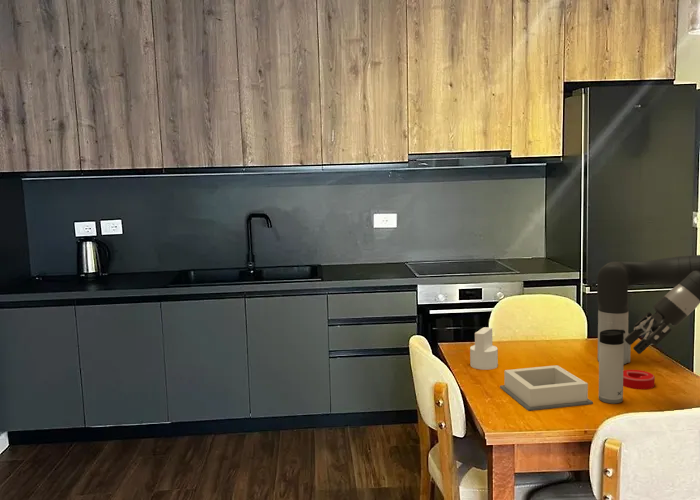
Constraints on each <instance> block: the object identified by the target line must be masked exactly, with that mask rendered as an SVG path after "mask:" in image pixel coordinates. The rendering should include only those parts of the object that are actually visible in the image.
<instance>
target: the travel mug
mask: <svg viewBox="0 0 700 500" xmlns="http://www.w3.org/2000/svg"><path fill="white" fill-rule="evenodd" d="M624 333H625V331H624V330H617V329H610V330H604V331H601V332H600V341H599V343H600V344H599V361H598V399H599V401H601V402H603V403H606V404H613V405H614V404H620V403H622V402H623V399H624V386H623V371H624V364H623V361H624V340H623V339H624Z"/></svg>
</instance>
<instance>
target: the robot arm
mask: <svg viewBox="0 0 700 500" xmlns="http://www.w3.org/2000/svg"><path fill="white" fill-rule="evenodd" d="M597 273H598V274H597V277H596V281H597V282H596V286H597V287H596V291H597V293H596V296H597V297H596V299H597V301H596V302H597V306H598V308H597V309H598V311H597V323H598V324H597V361H598V362H599V344H600V343H599V341H600V332H601V331H604V330H610V329H617V330H624V331H625V333H624V339H623V340H624V361H623V365H626V364H627V363H631V351H632V350H631V345H633V344H634V343H635V342H636V341H637V340H639V338H640V337H641V336H643V335H645V336H644V337H643V338H642V339H640V341H639V342H637V344H635V345H634V346H633V350H634V351H635V352H636V353H637V354H638V355H640V354H642V353H643V352H644V351H645V350H646V349H647V348H648V347H649V346H652V345H654V346H657V345H658V344H659V343H660V342H661V341H662V340H664V338H665V337H667V336H668V334H669V333H670V332H672V328H671V327H670V326H669V325H671V326H672V327H677V326H678V325H679V324H680V323H682V321H684V320H685V319H686V318H687V317H688V316H689V315H690V314H691V313H692V312H694V310H696V308H698V306H699V305H700V254H698V255H697V254H695V255H694V254H693V255H682V256H674V257H673V256H672V257H664V258H657V259H651V260H647V261H618V260H617V261H610V262H607V263H606V264H604V265H603V266H602V267H601V268H600V269H599V270H598V272H597ZM645 284H649V285H650V284H651V285H652V284H653V285H660V286H662V285H663V286H672V287H673V288H671V289H670V290H669V291H668V292H667V293H666V294H665V295H663V296H662V298H660V300H658V301H657V303H655V304H654V305H653V306H652V308H653V310H654V311H655V313H652V312H651V311H648V312H647V313H645V315H643V316H642V318H640V319H639V320H638V321H637V322H635V324H634V325H633V331H631V332H630V333H629V311H630V310H629V306H630V305H629V298H628V296H629V295H628V292H629V289H628V287H629V286H630V287H631V286H636V285H645Z"/></svg>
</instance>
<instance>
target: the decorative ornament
mask: <svg viewBox="0 0 700 500" xmlns="http://www.w3.org/2000/svg"><path fill="white" fill-rule="evenodd" d="M623 387H625V388H629V389H633V390H649V389H653V388H654V387H655V376H654V374H653V373H651V372H648V371H645V370H640V369H623Z"/></svg>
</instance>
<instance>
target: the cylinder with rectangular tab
mask: <svg viewBox="0 0 700 500" xmlns="http://www.w3.org/2000/svg"><path fill="white" fill-rule="evenodd" d="M498 354H499V353H498V347H497V346H496V345H493V327H488V326H487V327H486V326H485V327H482V328H480V329H479V330H478V331H475V332H474V344H473V345H471V346H470V349H469V355H470V356H469V361H470V363H469V364H470V367H471V368H473V369H476V370H483V371H484V370H487V371H488V370H494V369H497V368H498V366H499V363H498V362H499V361H498V357H499V356H498Z"/></svg>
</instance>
